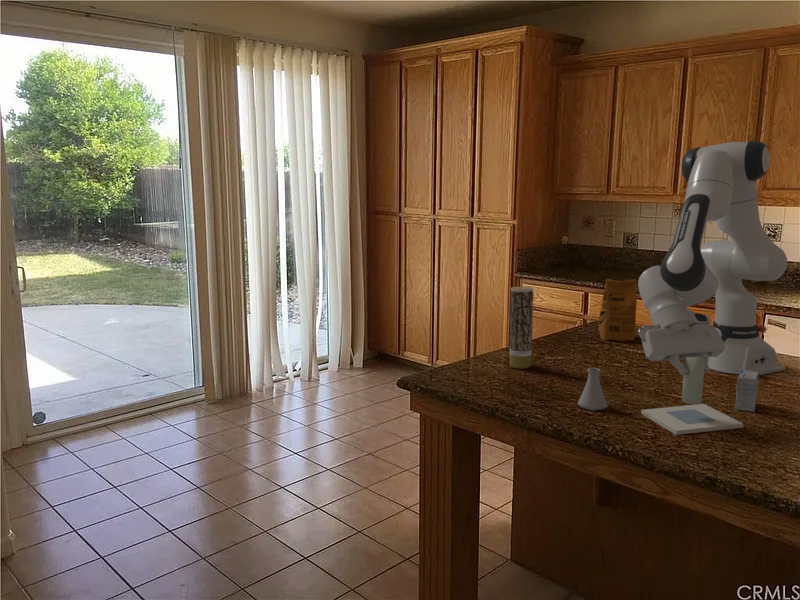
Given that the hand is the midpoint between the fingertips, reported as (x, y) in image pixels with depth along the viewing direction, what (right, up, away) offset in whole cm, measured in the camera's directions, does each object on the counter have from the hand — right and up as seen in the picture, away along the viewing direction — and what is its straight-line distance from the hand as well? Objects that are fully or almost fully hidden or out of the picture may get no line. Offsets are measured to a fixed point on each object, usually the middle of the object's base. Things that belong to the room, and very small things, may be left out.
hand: (695, 372), depth 156 cm
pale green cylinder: (0, -7, +2) cm, 7 cm away
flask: (-21, -10, +14) cm, 27 cm away
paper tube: (-33, -4, +49) cm, 59 cm away
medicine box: (+18, -10, +12) cm, 24 cm away
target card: (0, -12, +3) cm, 12 cm away
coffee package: (+8, +3, +82) cm, 83 cm away
